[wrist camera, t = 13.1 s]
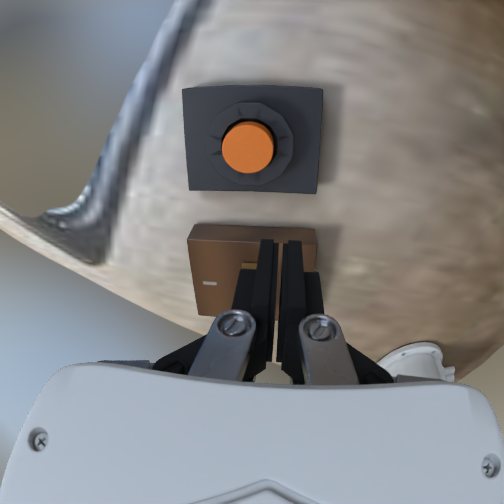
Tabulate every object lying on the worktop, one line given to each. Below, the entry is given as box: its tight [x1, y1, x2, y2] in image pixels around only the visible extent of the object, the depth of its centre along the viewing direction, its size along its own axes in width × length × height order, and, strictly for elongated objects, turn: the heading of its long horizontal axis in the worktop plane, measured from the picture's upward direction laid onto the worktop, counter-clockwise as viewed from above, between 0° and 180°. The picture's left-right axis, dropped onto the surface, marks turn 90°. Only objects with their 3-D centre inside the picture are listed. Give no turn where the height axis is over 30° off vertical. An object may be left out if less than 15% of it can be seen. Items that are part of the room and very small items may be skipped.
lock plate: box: [187, 224, 317, 320], centre depth 31 cm, size 12×10×3 cm
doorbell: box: [182, 85, 323, 194], centre depth 23 cm, size 11×9×4 cm
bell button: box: [222, 121, 274, 173], centre depth 21 cm, size 4×4×2 cm
